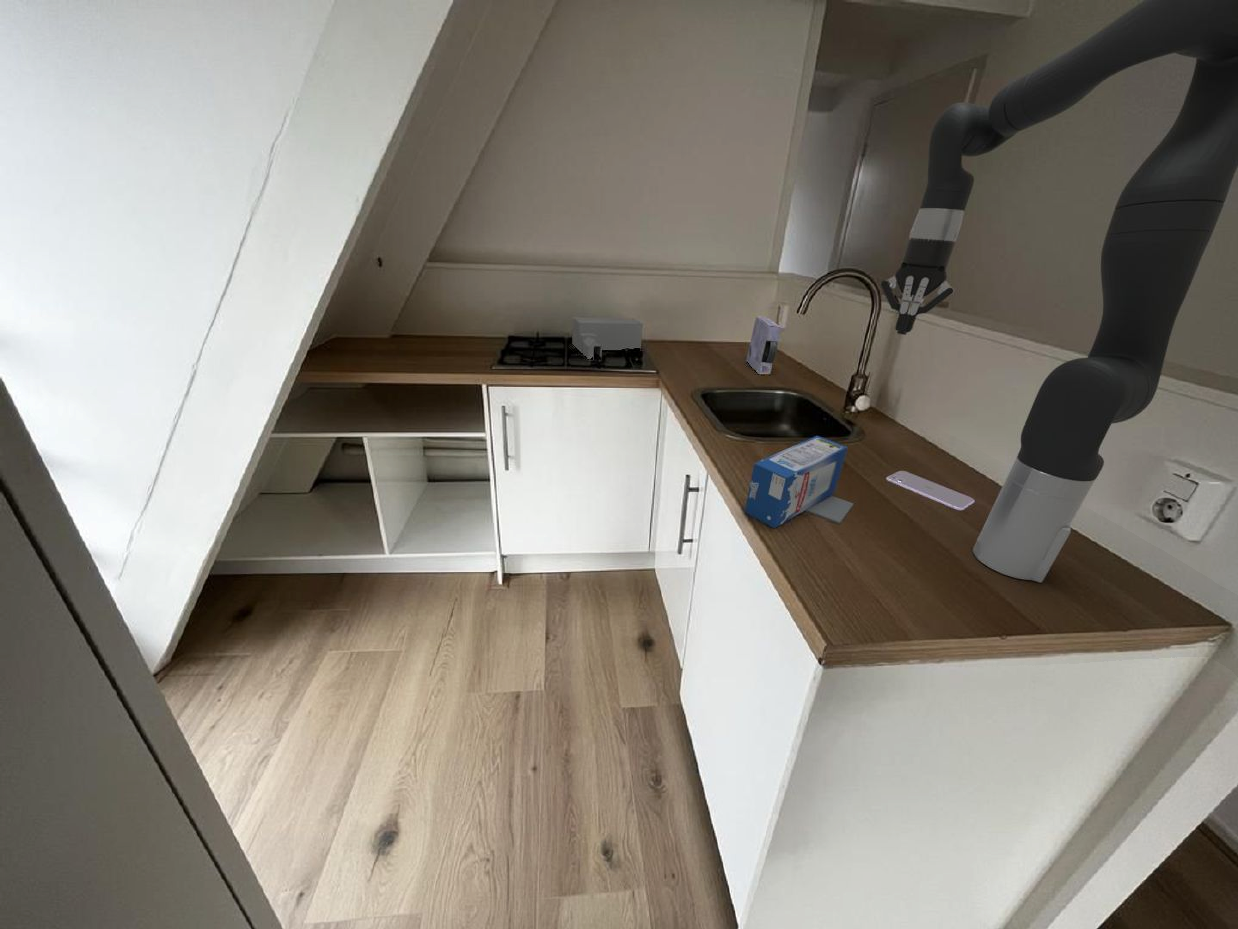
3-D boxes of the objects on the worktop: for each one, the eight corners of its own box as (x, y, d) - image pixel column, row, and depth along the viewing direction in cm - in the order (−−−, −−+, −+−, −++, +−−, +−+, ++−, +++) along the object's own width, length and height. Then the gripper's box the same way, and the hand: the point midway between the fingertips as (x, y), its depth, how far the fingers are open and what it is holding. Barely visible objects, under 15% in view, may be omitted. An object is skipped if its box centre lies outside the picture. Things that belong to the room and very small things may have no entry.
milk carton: (817, 435, 94) (754, 463, 82) (847, 446, 90) (786, 477, 78) (805, 480, 99) (744, 512, 87) (834, 493, 95) (774, 529, 83)
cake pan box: (772, 377, 173) (783, 326, 165) (758, 376, 172) (768, 325, 165) (757, 363, 190) (767, 316, 182) (745, 362, 190) (754, 315, 182)
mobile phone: (961, 508, 93) (884, 476, 104) (960, 513, 94) (883, 480, 104) (977, 498, 98) (901, 468, 108) (975, 502, 98) (900, 472, 108)
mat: (853, 505, 92) (853, 503, 92) (839, 524, 86) (840, 522, 86) (791, 483, 99) (791, 481, 99) (774, 499, 92) (774, 497, 92)
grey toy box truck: (586, 360, 175) (587, 329, 171) (572, 345, 195) (572, 317, 190) (651, 360, 183) (654, 330, 178) (631, 345, 203) (633, 318, 198)
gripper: (976, 241, 89) (942, 337, 96) (897, 235, 96) (871, 326, 103) (973, 240, 83) (936, 342, 91) (889, 234, 90) (862, 329, 98)
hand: (901, 333), depth 97 cm, fingers closed
